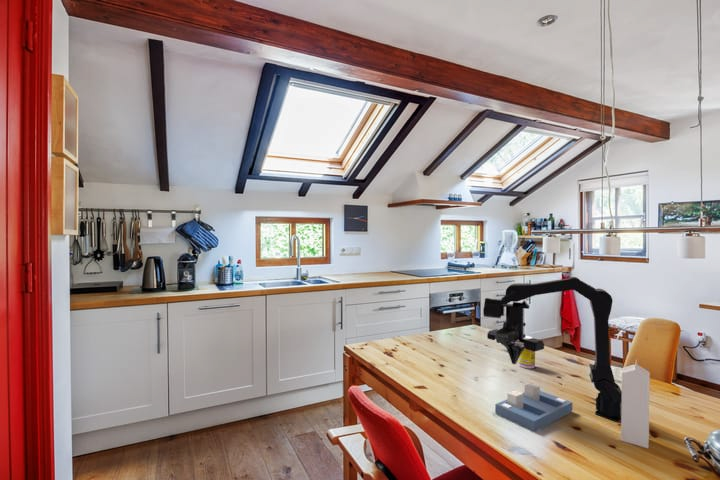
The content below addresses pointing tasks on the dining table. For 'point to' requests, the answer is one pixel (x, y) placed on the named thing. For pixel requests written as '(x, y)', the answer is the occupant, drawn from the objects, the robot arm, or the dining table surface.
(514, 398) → the tab
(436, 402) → the dining table surface
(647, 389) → the milk
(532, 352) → the supplement bottle
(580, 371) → the dining table surface
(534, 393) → the tab
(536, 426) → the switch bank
